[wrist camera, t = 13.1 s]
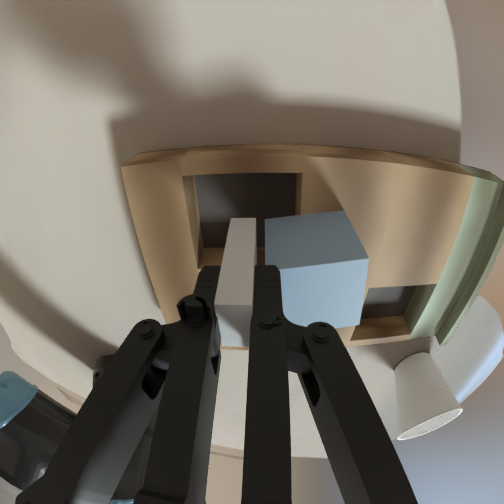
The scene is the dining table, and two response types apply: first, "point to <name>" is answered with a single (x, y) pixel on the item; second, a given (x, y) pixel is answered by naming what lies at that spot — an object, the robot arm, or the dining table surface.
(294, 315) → the block
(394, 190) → the board
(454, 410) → the cup
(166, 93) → the dining table surface
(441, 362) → the dining table surface
